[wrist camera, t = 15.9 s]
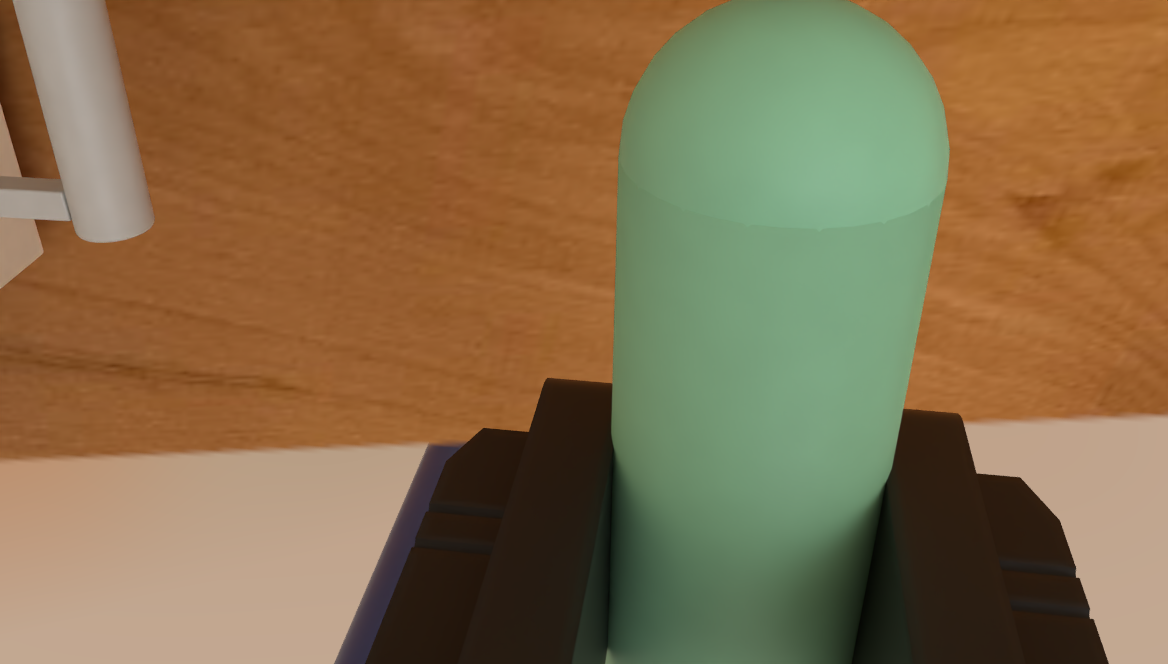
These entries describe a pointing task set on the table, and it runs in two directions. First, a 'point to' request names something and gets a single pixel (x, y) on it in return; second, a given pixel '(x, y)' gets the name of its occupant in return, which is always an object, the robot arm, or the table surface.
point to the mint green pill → (764, 327)
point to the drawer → (73, 136)
